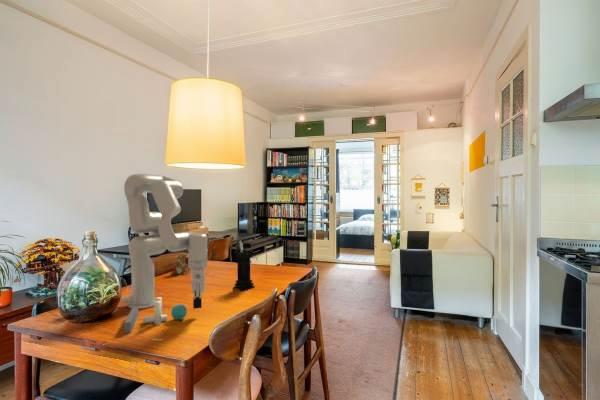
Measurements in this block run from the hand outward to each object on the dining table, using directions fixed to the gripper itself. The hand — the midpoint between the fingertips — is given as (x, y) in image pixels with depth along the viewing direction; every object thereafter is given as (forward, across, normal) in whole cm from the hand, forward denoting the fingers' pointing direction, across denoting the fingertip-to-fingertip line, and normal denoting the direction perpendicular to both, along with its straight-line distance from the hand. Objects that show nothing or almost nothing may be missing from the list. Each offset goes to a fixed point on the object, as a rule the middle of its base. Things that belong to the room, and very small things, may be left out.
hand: (197, 307), depth 136 cm
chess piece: (+4, +35, -25) cm, 43 cm away
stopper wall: (+4, -1, +24) cm, 25 cm away
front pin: (+3, -1, +12) cm, 12 cm away
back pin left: (+4, +2, +15) cm, 15 cm away
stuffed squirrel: (+6, +84, +7) cm, 85 cm away
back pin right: (+4, -3, +15) cm, 16 cm away
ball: (+1, -1, +7) cm, 7 cm away
